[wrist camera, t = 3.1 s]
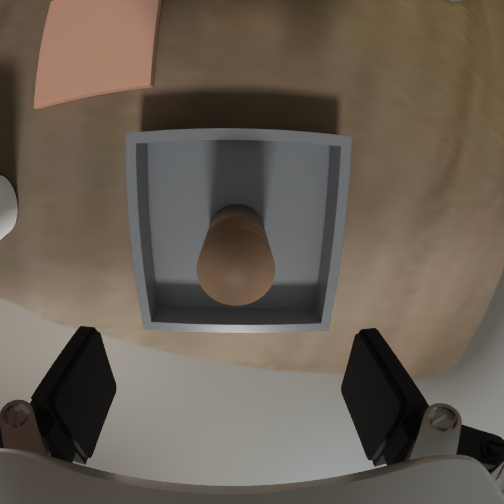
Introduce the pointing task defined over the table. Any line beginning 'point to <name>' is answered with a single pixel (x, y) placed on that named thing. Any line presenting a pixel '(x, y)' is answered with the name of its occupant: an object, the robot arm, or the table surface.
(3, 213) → the cup
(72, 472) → the robot arm
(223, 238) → the walnut peg
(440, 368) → the table surface
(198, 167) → the bin
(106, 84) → the terracotta board
